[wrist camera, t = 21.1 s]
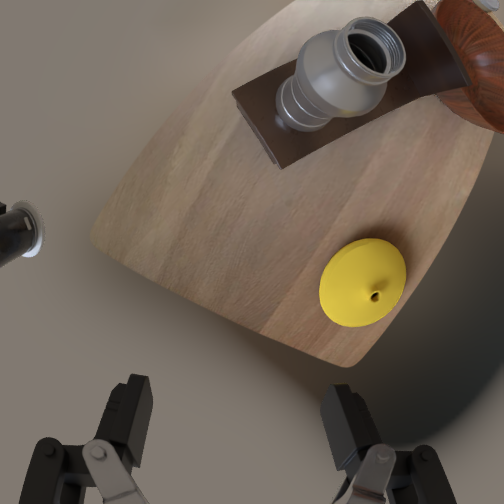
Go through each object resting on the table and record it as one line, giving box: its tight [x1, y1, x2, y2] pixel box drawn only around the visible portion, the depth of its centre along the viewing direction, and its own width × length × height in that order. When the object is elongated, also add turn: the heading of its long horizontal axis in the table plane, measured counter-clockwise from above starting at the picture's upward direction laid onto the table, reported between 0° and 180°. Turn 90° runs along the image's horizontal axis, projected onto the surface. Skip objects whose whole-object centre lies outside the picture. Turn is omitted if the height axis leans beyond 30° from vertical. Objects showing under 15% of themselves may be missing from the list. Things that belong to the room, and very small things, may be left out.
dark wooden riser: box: [232, 0, 473, 169], centre depth 27 cm, size 24×11×18 cm, turn 122°
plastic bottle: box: [276, 17, 406, 132], centre depth 19 cm, size 6×7×20 cm
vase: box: [319, 238, 406, 327], centre depth 41 cm, size 16×16×7 cm
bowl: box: [431, 0, 504, 134], centre depth 27 cm, size 25×25×11 cm
